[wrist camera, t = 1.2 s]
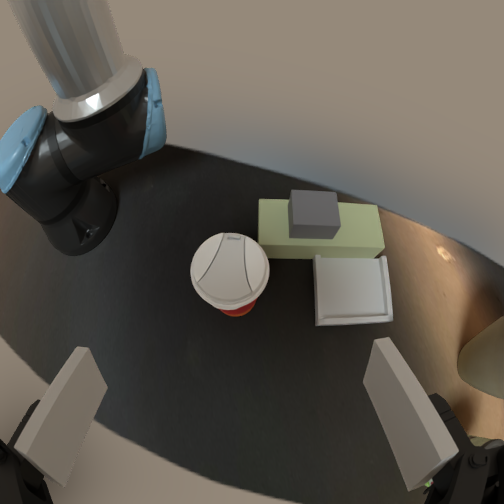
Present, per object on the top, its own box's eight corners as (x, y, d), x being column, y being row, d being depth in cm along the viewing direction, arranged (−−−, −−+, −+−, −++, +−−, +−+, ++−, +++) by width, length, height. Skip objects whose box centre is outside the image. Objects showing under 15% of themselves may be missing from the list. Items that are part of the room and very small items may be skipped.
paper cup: (214, 267, 40) (198, 222, 27) (266, 275, 40) (275, 233, 27) (203, 319, 37) (179, 299, 24) (258, 329, 37) (263, 313, 24)
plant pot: (493, 323, 36) (551, 302, 21) (487, 397, 30) (547, 395, 16) (445, 318, 37) (511, 294, 22) (435, 404, 31) (503, 411, 17)
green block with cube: (256, 326, 37) (258, 317, 29) (258, 216, 43) (260, 182, 35) (387, 322, 37) (419, 311, 29) (374, 221, 43) (397, 192, 35)
